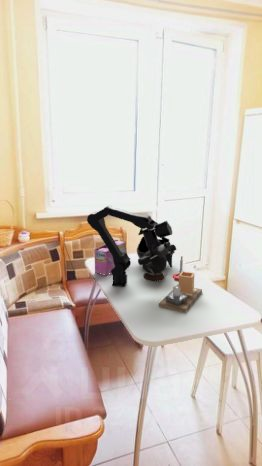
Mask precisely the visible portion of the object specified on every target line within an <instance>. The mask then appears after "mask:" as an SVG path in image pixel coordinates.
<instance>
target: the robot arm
mask: <svg viewBox="0 0 262 466" xmlns="http://www.w3.org/2000/svg"><path fill="white" fill-rule="evenodd" d="M108 216H110V217H113V218H116V219H120V220H123V221H126V222H128V223H131V224H133V225H134V226H136V227H138V228H139V233H137V234H138V236H140V235H141V236H142V235H143V236H142V237H144V238H145V241H146V244H147V245H146V247H148V249H149V255H150V256H144V257H142V258H138V260H137V262H138V265H139V266H142V265H143V266H146V267H147V268H148V269H149V270H150V271H151V272H152V273H153V274H154V275H155V276H156V273H155V270H154V268H153V266H152V262H150V261H151V259H153V258H155V257H158V256H159V257H163V256H164V255H165V257H166V259H167V264H168V265H169V268H173V255H174V254H175V251H177V250H178V249H177V247H176V244H171V243H170V244H169V243H168V242H167V243H165V244H163V245H162V244H161V242H160V241H158V239H161V238H163V237H165V238H166V237H169V236H172V235H173V229H172V226H171V224H170V223H169V222H168V220H164V221H162V222H160V223H158V222H157V221H155V220H154V219H153V218H152V216H151V215H149V214H147V213H146V214H145V213H134V212H130V211H127V210H124V209H120V208H117V207H115V206H112V205H108V206H105V207H104V208H103V209H101V210H98V211H95V212H92V213H90V214H88V215H87V217H86V218H87V219H86V222H87V224H88V225H89V226H90V227H91V228H92V229H93V230H94V231H96V232H97V233H98V235H99V237H100V238H101V240H102V241H103V243H104V245H106V246H107V248H108V250H109V251H110V253H111V255H112V256H113V262H114V265H115V267H114V268H113V269H112V270H111V273H110V274H111V275H112V284H111V286H112V287H126V285H127V284H128V274H127V270H128V268H129V267H130V266H131V258H130V257H129V255H128V253H127V252H126V253H122V252H121V251H120V249H119V248H118V246H117V244H116V243H115V241H114V240H115V239H114V238H113V237H112V235H111V233H110V232H109V230H108V228H107V226H106V219H105V218H106V217H108Z"/></svg>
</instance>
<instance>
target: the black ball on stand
mask: <svg viewBox="0 0 262 466" xmlns="http://www.w3.org/2000/svg"><path fill="white" fill-rule="evenodd" d="M144 256H150V255H149V251H147V252H146V253H145V254H144ZM144 256H143V257H144ZM150 262H152V266H153V268H154V270H155V273H156V276H155V275H154V274H153V273H152V272H151V271H150V270H149V269H148V268H147V267H146V266H143V265H141V267H142V269H143V271H145V272H144V274H143V276H142V277H143V279H144V280H146V281H148V282H160V281H163V280H165V274H164V273H163V272H164V271H165V270H166V268H167V264H168V261H167V259H166V257H165V255H164V256H163V257H159V256H158V257H155V258H153V259H151V261H150Z"/></svg>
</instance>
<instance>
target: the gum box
mask: <svg viewBox="0 0 262 466" xmlns="http://www.w3.org/2000/svg"><path fill="white" fill-rule="evenodd" d="M113 240H114V241H115V243H116V244H117V246H118V248H119V249H120V251H121V252H122V253H127V241H120V240H119V239H113ZM114 267H115V265H114V262H113V256H112V255H111V253H110V251H109V250H108V248H107V246H106V245H105V244H103V245H102V246H100V247H97V248H96V249H94V273H95V274H96V273H101V274H105V275H104V276H106V275H107V276H108V275H110V274H112V273H111V270H112V269H113V268H114ZM109 273H110V274H109ZM101 274H100V275H101Z"/></svg>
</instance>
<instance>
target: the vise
mask: <svg viewBox="0 0 262 466" xmlns="http://www.w3.org/2000/svg"><path fill="white" fill-rule="evenodd" d="M172 290H173V293H171V294H169V293H168V294H169V295H168V294H167V295H168V296H167V295H166V296H165V297H166V302H168V303H171V304H173V305H176V306H180V305H182V304H183V303H185V302H187V296H186V295H185V293H183V294H180V287H179V286H177V285H175V286H173V288H172Z"/></svg>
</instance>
